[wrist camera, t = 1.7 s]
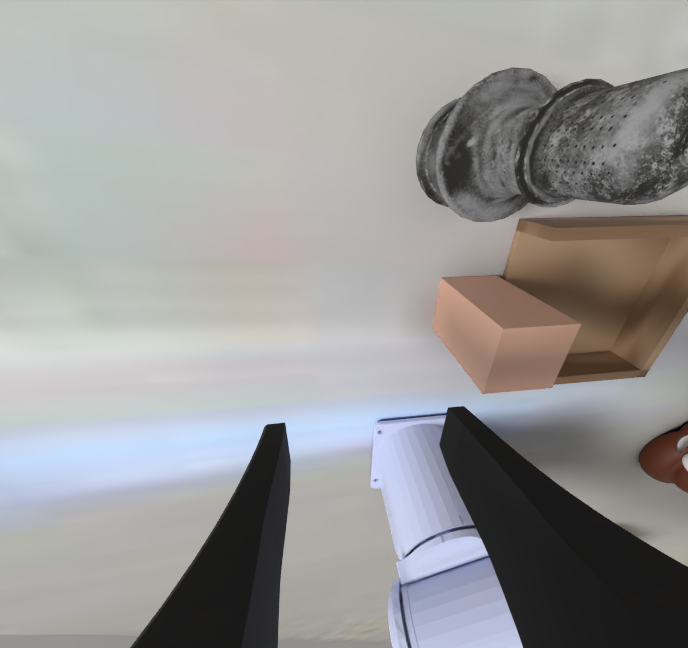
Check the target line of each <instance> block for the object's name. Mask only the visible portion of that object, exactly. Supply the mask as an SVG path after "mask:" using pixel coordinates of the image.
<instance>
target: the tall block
mask: <svg viewBox="0 0 688 648" xmlns="http://www.w3.org/2000/svg"><path fill="white" fill-rule="evenodd" d="M580 326H581V323H579V322H577V321H575V320H574V319H572V318H570V317H568V316H567V315H565V314H563V313H561V312H560V311H558V310H556V309H554V308H553V307H551V306H549V305H547V304H546V303H544V302H542V301H541V300H539V299H537V298H535V297H534V296H532V295H530V294H528V293H527V292H525V291H523V290H521V289H520V288H518V287H516V286H514V285H513V284H511V283H509V282H507V281H506V280H504V279H502V278H500V277H499V276H497V275H492V276H469V277H446V278H441V281H440V287H439V293H438V299H437V305H436V310H435V316H434V322H433V328H432V329H433V330H434V332H435V333H436V334H437V335H438V337H439V338H440V339H441V341H442V342H443V343H444V344H445V346H446V347H447V348H448V350H449V351H450V352H451V353H452V355H453V356H454V357H455V359H456V360H457V361H458V362H459V364H460V365H461V366H462V368H463V369H464V370H465V371H466V373H467V374H468V375H469V377H470V378H471V379H472V380H473V382H474V383H475V384H476V386H477V387H478V388H479V389H480V391H481V392H482V393H483V394H487V393H498V392H510V391H521V390H532V389H544V388H552V387H553V384H554V382H555V380H556V378H557V376H558V374H559V371H560V369H561V367H562V365H563V363H564V361H565V358H566V356H567V354H568V352H569V350H570V348H571V345H572V343H573V341H574V339H575V337H576V335H577V332H578V330H579V328H580Z"/></svg>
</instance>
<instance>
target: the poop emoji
mask: <svg viewBox="0 0 688 648" xmlns="http://www.w3.org/2000/svg"><path fill="white" fill-rule="evenodd" d="M639 463H640V465H641V467H642V469H643V470H644V471H645V472H646V473H647V474H648V475H649V476H651V477H652V478H654V479H656V480H658V481H661V482H665V483H674V484H675V485H676V486H678V487H679V488H680V489H682V490H683V491H685V492H687V493H688V423H687V424H685V425H684V426H683V427H682V428H681V429H680V431H675V432H671V433H667V434H664V435H662V436H659V437H657V438H655V439H654V440H652V441H651V442H649V443H648V444H647V445H646V446H645V447H644V448H643V450H642V451H641V453H640V456H639Z"/></svg>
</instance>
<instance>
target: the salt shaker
mask: <svg viewBox="0 0 688 648" xmlns="http://www.w3.org/2000/svg"><path fill="white" fill-rule="evenodd" d="M416 167H417V176H418V179H419V182H420V185H421V187H422V189H423V190H424V192H425V193H426V194H427V196H428V197H429V198H431V199H432V200H433V201H435V202H436V203H438V204H441V205H444V206H447V207H450V209H452V210H453V211H454V212H456V213H457V214H458V215H460V216H461V217H463V218H466V219H469V220H472V221H475V222H492V221H495V220H499V219H503V218H506V217H508V216H509V215H511V214H513V213H515V212H517V211H519V210H520V209H521V208H523V207H524V206H525V205H526V204H527V203H529V202H530V203H532V204H535V205H538V206H540V207H557V206H560V205H564V204H567V203H569V202H571V201H573V200H575V199H581V200H589V201H598V202H606V203H614V204H623V205H636V204H645V203H650V202H654V201H657V200H661V199H663V198H665V197H667V196H669V195H671V194H673V193H674V192H676V191H678V190H680V189H682V188H684V187H686V186H687V185H688V68H686V69H682V70H678V71H674V72H670V73H667V74H663V75H659V76H655V77H651V78H647V79H643V80H639V81H635V82H632V83H628V84H624V85H620V86H616V87H614V86H613V85H611V84H609V83H607V82H605V81H603V80H601V79H585V80H581V81H578V82H574V83H571V84H569V85H567V86H565V87H564V88H562V89H560V90H559V91H557V90H556V88H555V87H554V86H553V85H552V84H551V83H550V81H549V80H548V79H547V78H546V77H545V76H543V75H541V74H539V73H537V72H535V71H533V70H532V69H525V68H509V69H506V70H502V71H498V72H495V73H492V74H491V75H489V76H488V77H486V78H484V79H483V80H481V81H480V82H478V83H476V84H475V85H474V86H473V87H472V88H471V89H470V90H469V91H468V92H467V93H466V94H465V95H464V96H463V97H462V98H458V99H455V100H453V101H452V102H450V103H449V104H447V105H445V106H444V107H442V108H441V109H440V110H439V111H438V112H437V113H436V114H435V115H434V116H433V117H432V118H431V120H430V122H429V123H428V125H427V126H426V128H425V130H424V131H423V134H422V137H421V139H420V142H419V145H418V150H417V157H416Z"/></svg>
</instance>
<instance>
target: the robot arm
mask: <svg viewBox="0 0 688 648" xmlns="http://www.w3.org/2000/svg"><path fill="white" fill-rule="evenodd" d="M380 430H381V431H380ZM290 463H291V460H290V453H289V447H288V440H287V433H286V426H285V423H278V424H268V425H266V426H265V427H264V430H263V433H262V435H261V438H260V440H259V443H258V445H257V448H256V450H255V452H254V454H253V456H252V459H251V461H250V463H249V465H248V467H247V469H246V471H245V473H244V475H243V477H242V479H241V481H240V483H239V485H238V487H237V489H236V490H235V492H234V494H233V496H232V498H231V499H230V501H229V503H228V505H227V506H226V508H225V510H224V512H223V514H222V515H221V517H220V519H219V521H218V522H217V524H216V526H215V527H214V529H213V530H212V532H211V534H210V535H209V537H208V539H207V540H206V542H205V543H204V545H203V546H202V548H201V549H200V551H199V553H198V554H197V556H196V557H195V559H194V560H193V562H192V563H191V565H190V566H189V568H188V569H187V571H186V572H185V573H184V575H183V576H182V578H181V579H180V581H179V582H178V584H177V585H176V587H175V588H174V589H173V591H172V592H171V594H170V595H169V597H168V598H167V599H166V601H165V602H164V604H163V605H162V606H161V608H160V609H159V610H158V612H157V613H156V615H155V616H154V617H153V618H152V620H151V621H150V622H149V624H148V625H147V626H146V628H145V629H144V630H143V632H142V633H141V634H140V636H139V637H138V638H137V640H136V641H135V642H134V644H133V645H132V646H131V648H277V647H278V619H279V594H280V578H281V566H282V557H283V549H284V540H285V531H286V522H287V513H288V505H289V495H290ZM370 485H371V488H373V489H378V488H381V491H382V495H383V499H384V504H385V508H386V512H387V517H388V521H389V525H390V529H391V534H392V538H393V542H394V546H395V550H396V553H397V555H398V557H399V559H400V560H399V561H397V562H396V564H397V568H398V573H399V577H400V579H398V580H395V581H394V582H393V584H392V587H391V593H390V596H389V599H388V620H389V629H390V636H391V642H392V647H393V648H688V567H687V566H685V565H683V564H681V563H680V562H678V561H676V560H674V559H673V558H671V557H669V556H667V555H666V554H664V553H662V552H661V551H659V550H657V549H656V548H654V547H652V546H650V545H649V544H647V543H645V542H644V541H642V540H641V539H639V538H637V537H636V536H634V535H633V534H631V533H629V532H628V531H626V530H625V529H623V528H621V527H620V526H618V525H617V524H615V523H613V522H612V521H610V520H609V519H607V518H606V517H604V516H603V515H601V514H600V513H598V512H597V511H595V510H594V509H592V508H591V507H589V506H588V505H586V504H585V503H584V502H582V501H581V500H579V499H578V498H576V497H575V496H573V495H572V494H571V493H569V492H568V491H566V490H565V489H564V488H562V487H561V486H560V485H558V484H557V483H555V482H554V481H553V480H552V479H550V478H549V477H548V476H546V475H545V474H544V473H542V472H541V471H540V470H539V469H537V468H536V467H535V466H533V465H532V464H531V463H530V462H528V461H527V460H526V459H525V458H523V457H522V456H521V455H520V454H519V453H517V452H516V451H515V450H514V449H513V448H511V447H510V446H509V445H508V444H507V443H505V442H504V441H503V440H502V439H501V438H500V437H498V436H497V435H496V434H495V433H494V432H493V431H492V430H490V429H489V428H488V427H487V426H486V425H485V424H484V423H482V422H481V421H480V420H479V419H478V418H477V417H476V416H474V415H473V414H472V413H471V412H470V411H469V410H467V409H466V408H465V407H464V406H461V407H451V408H448V410H447V414H446V415H441V416H431V417H420V418H410V419H399V420H389V421H379V422H377V423H376V424H375V425H374V437H373V451H372V465H371V479H370Z"/></svg>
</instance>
